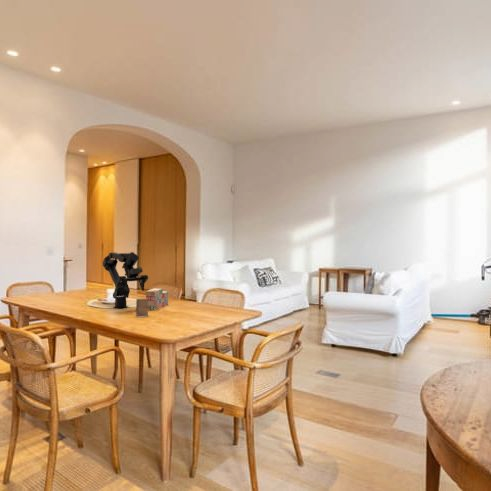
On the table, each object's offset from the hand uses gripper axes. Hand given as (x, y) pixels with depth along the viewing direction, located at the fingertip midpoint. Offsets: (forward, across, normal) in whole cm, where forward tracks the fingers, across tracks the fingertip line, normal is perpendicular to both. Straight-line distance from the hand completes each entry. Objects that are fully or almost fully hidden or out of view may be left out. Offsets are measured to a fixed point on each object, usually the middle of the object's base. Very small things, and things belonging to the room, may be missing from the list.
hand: (136, 291), depth 236 cm
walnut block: (+17, -2, 0) cm, 17 cm away
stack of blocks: (+4, +20, +16) cm, 26 cm away
